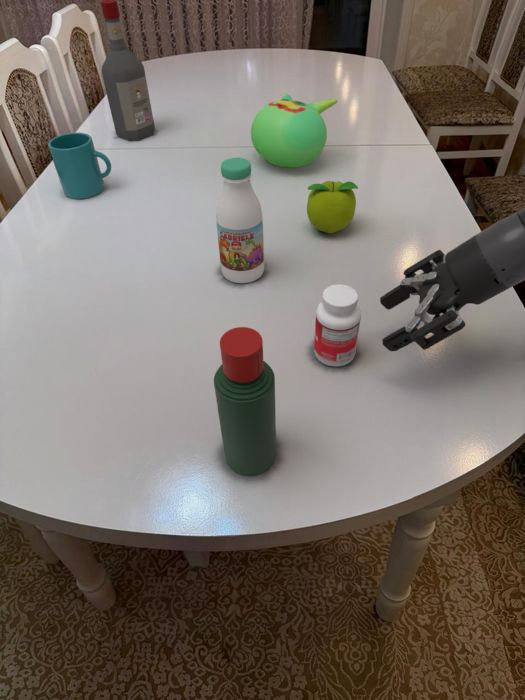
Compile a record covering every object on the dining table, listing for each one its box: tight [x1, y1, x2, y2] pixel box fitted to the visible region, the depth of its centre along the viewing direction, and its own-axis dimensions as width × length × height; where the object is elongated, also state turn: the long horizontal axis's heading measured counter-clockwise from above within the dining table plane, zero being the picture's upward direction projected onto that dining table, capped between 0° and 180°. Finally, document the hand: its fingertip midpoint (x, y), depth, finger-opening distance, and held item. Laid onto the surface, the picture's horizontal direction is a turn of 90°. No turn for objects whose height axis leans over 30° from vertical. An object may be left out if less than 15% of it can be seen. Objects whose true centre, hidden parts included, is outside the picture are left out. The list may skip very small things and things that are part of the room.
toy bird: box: [250, 93, 339, 168], centre depth 115 cm, size 18×17×15 cm
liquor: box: [100, 0, 156, 142], centre depth 125 cm, size 9×9×30 cm
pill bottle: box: [313, 283, 362, 367], centre depth 70 cm, size 6×6×11 cm
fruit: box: [306, 180, 359, 234], centre depth 95 cm, size 9×9×10 cm
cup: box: [47, 132, 112, 200], centre depth 109 cm, size 9×12×11 cm
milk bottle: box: [215, 157, 265, 284], centre depth 82 cm, size 8×8×20 cm
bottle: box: [213, 360, 277, 477], centre depth 55 cm, size 6×6×19 cm
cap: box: [219, 326, 264, 382], centre depth 49 cm, size 4×4×4 cm
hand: (384, 324), depth 69 cm, fingers open, 8 cm apart
